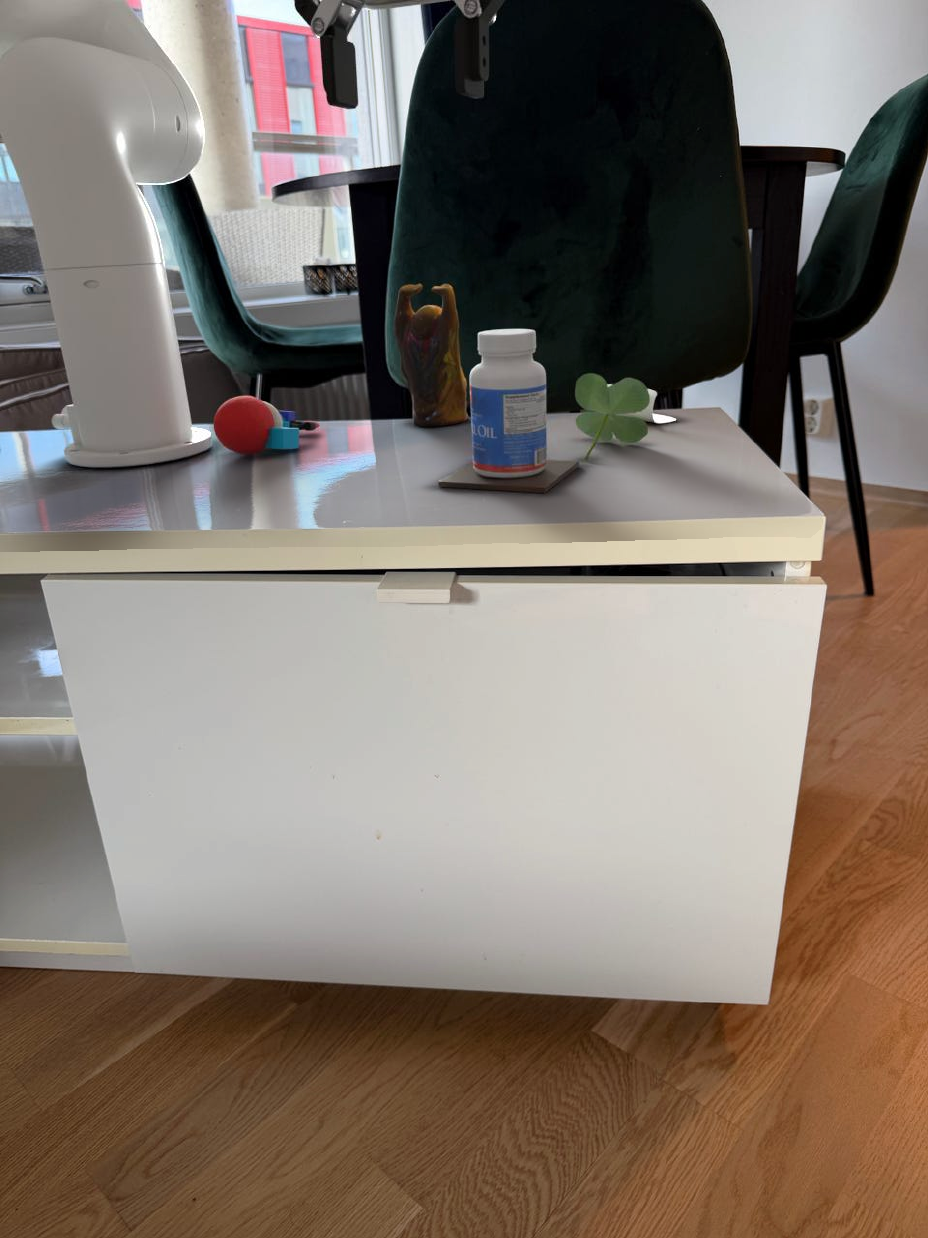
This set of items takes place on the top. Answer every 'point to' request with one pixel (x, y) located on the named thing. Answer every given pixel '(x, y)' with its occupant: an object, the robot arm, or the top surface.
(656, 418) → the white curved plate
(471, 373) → the pill bottle
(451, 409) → the figurine
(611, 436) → the green leafy piece
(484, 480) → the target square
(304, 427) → the toy figure
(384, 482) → the top surface
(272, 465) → the top surface
